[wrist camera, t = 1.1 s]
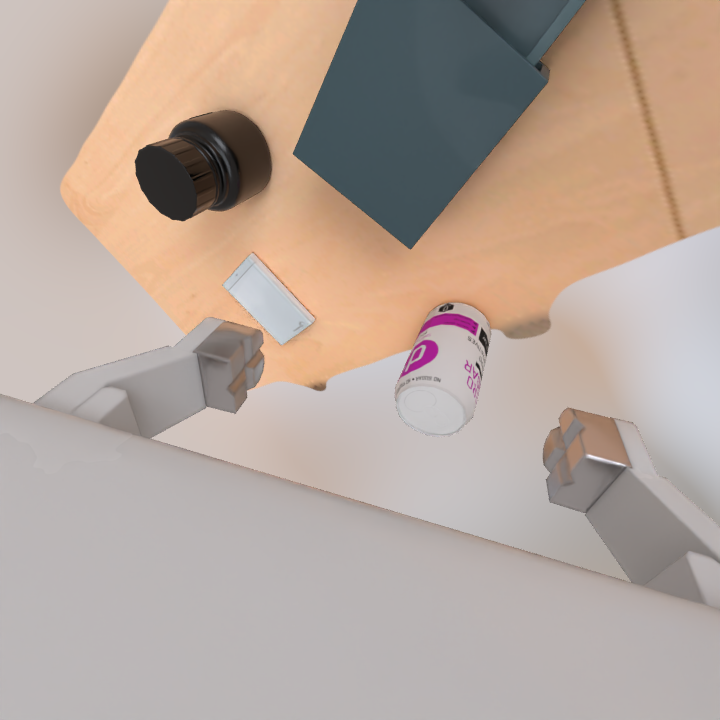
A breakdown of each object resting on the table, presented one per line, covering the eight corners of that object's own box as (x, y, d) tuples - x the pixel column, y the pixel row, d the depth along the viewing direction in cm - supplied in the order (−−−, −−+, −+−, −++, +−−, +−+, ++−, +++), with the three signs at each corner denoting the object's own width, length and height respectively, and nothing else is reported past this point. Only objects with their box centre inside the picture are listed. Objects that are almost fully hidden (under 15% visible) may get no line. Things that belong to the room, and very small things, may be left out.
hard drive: (311, 324, 56) (247, 256, 52) (280, 346, 61) (220, 286, 57) (316, 318, 57) (253, 251, 53) (285, 340, 62) (227, 281, 59)
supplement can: (412, 322, 51) (374, 401, 40) (461, 286, 45) (431, 367, 35) (454, 363, 53) (428, 449, 42) (506, 334, 47) (491, 425, 37)
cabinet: (417, -54, 29) (386, -70, 24) (550, 70, 31) (548, 81, 26) (327, 136, 40) (292, 154, 35) (429, 220, 42) (410, 250, 37)
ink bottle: (198, 98, 43) (109, 118, 34) (269, 110, 41) (194, 134, 32) (214, 190, 49) (143, 225, 41) (276, 204, 47) (215, 244, 39)
